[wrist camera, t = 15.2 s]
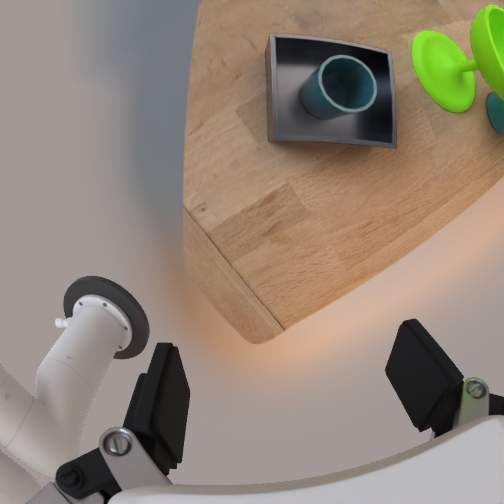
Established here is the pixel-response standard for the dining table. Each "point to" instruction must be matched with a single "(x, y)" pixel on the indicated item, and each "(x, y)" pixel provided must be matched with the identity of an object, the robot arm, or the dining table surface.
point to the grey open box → (300, 68)
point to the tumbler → (339, 88)
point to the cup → (496, 112)
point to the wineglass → (461, 61)
